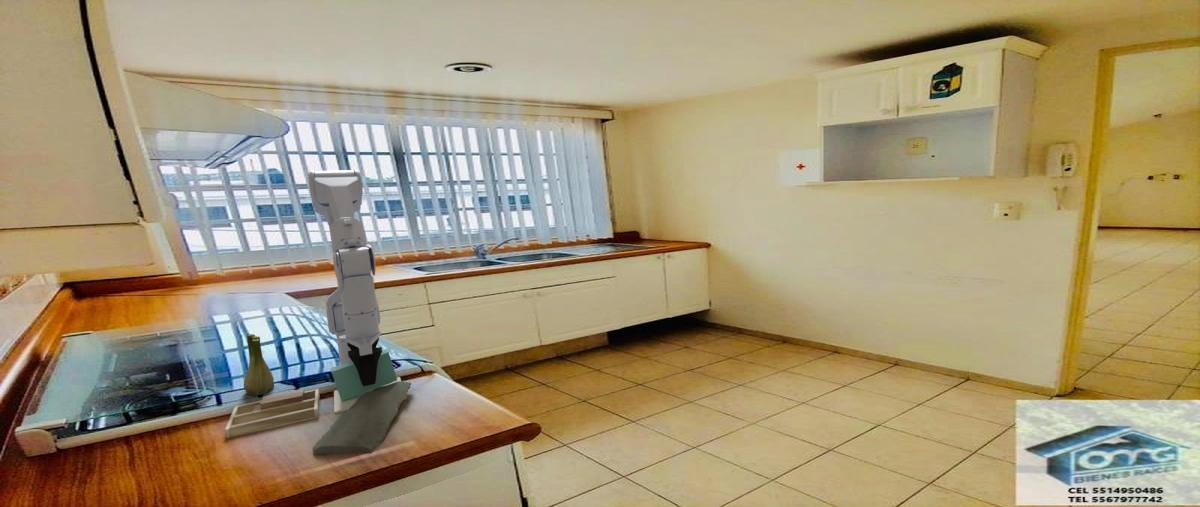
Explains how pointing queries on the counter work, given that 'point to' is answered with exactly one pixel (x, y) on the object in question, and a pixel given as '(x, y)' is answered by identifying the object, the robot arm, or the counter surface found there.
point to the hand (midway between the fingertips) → (368, 379)
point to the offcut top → (282, 399)
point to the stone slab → (364, 421)
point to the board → (350, 379)
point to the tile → (350, 400)
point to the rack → (271, 415)
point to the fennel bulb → (257, 369)
